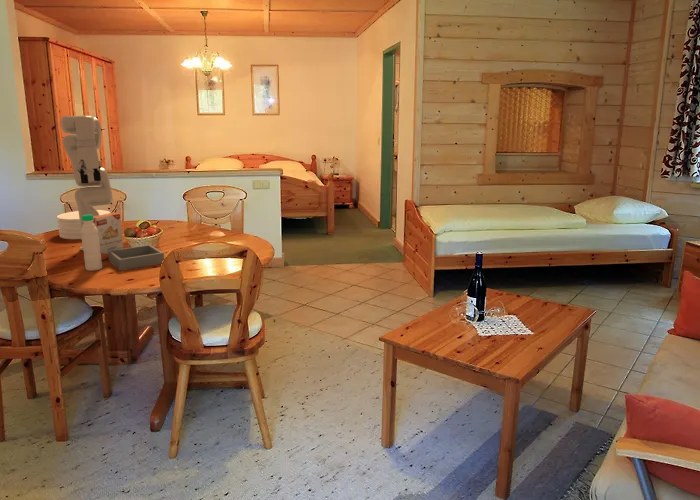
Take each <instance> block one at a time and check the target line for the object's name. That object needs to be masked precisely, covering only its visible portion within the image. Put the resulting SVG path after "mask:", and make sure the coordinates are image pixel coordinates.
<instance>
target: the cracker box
mask: <svg viewBox="0 0 700 500" xmlns="http://www.w3.org/2000/svg"><path fill="white" fill-rule="evenodd" d="M93 217H94V219H93V223H94V224H95V227H96V228H97V229H98V237H99V244H100V254H101V261H103V260H107V259H108V260H109V256H108V251H111V250H117V249H124V244H123V234H122V233H123V232H122V222H121V213H119V212H118V213H117V212H110V213H109V214H104V215H98V216H93Z"/></svg>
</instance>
